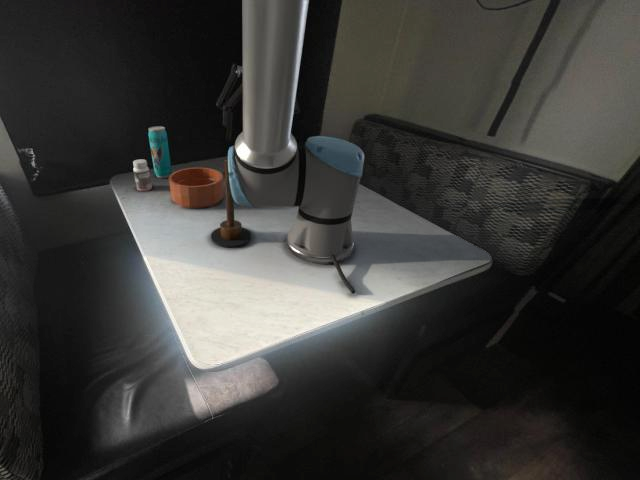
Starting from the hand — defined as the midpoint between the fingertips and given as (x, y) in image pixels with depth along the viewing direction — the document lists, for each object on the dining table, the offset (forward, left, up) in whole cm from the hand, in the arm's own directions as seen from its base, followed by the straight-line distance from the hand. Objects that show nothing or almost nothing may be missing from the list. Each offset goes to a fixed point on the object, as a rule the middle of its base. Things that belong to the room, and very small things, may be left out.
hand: (254, 142), depth 83 cm
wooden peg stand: (-16, +6, -17) cm, 24 cm away
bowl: (+7, +17, -18) cm, 25 cm away
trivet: (-16, +6, -18) cm, 25 cm away
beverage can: (+26, +31, -18) cm, 44 cm away
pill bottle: (+15, +35, -18) cm, 42 cm away
